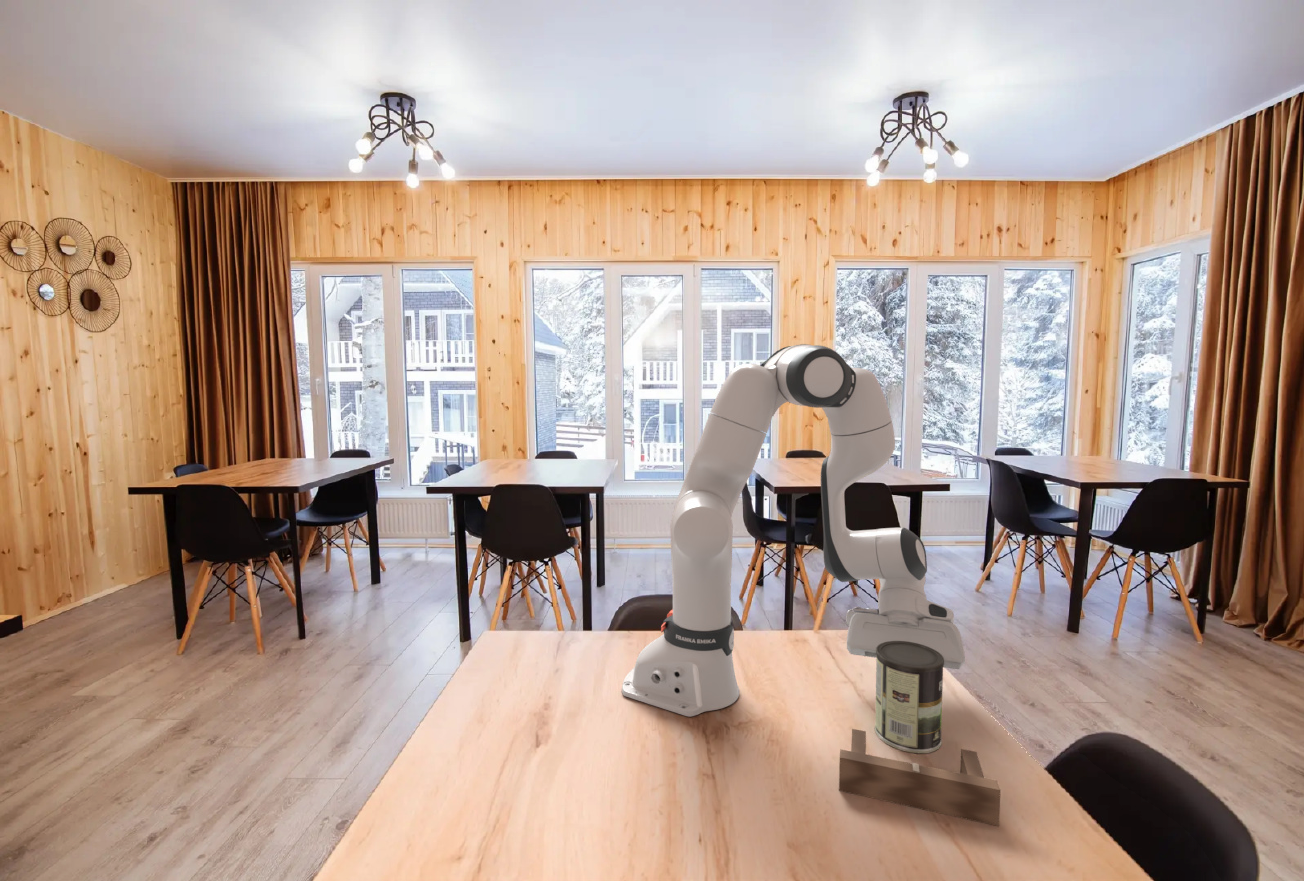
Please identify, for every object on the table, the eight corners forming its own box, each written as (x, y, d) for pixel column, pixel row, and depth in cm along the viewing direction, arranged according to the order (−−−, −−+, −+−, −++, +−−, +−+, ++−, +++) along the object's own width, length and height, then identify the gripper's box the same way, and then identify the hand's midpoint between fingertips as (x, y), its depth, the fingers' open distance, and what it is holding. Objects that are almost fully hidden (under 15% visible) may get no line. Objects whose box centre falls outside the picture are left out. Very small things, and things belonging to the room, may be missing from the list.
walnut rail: (839, 790, 82) (839, 756, 82) (841, 757, 90) (841, 725, 89) (999, 826, 75) (1000, 788, 75) (987, 787, 82) (988, 752, 82)
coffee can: (931, 721, 99) (934, 642, 98) (950, 757, 89) (952, 670, 88) (869, 714, 101) (870, 637, 100) (880, 750, 91) (882, 665, 90)
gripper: (846, 598, 113) (843, 668, 105) (962, 611, 106) (969, 687, 98) (846, 612, 118) (843, 680, 109) (958, 626, 110) (964, 699, 102)
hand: (904, 684), depth 103 cm, fingers closed
